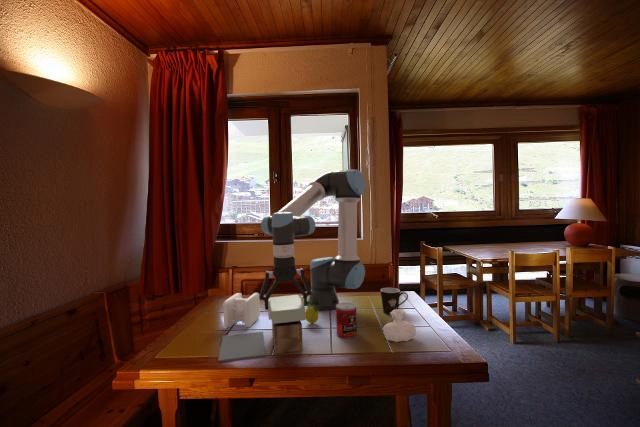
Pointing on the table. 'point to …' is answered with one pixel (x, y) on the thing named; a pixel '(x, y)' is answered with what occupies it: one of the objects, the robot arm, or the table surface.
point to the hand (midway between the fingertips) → (286, 316)
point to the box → (287, 336)
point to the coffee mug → (391, 299)
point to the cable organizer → (241, 310)
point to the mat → (242, 346)
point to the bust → (399, 328)
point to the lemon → (311, 313)
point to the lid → (287, 309)
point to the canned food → (346, 320)
